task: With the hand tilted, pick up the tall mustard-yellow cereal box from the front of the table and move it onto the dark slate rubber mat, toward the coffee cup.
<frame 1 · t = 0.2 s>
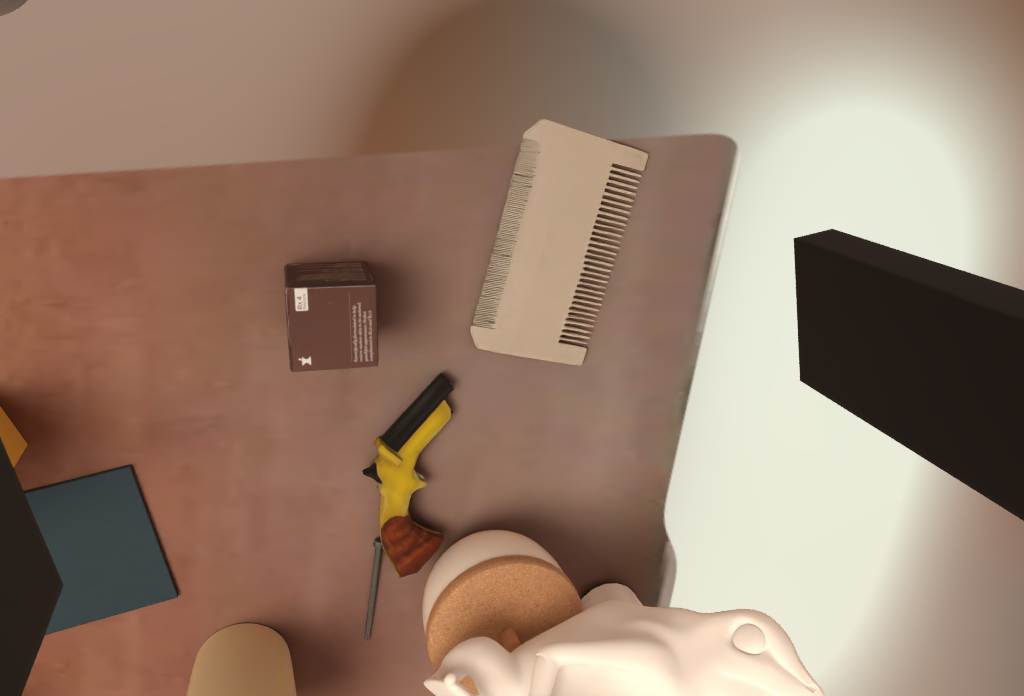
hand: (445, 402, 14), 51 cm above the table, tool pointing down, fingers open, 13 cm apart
coffee cup: (243, 659, 73), on the table
grooming comb: (619, 265, 69), point 1 cm above the table
slate mat: (60, 557, 66), on the table
screw: (374, 596, 73), point 1 cm above the table
toy gun: (466, 514, 72), point 1 cm above the table
lidded bowl: (480, 567, 76), on the table, touching hand
cup: (604, 608, 81), on the table, touching hand
box: (326, 299, 65), on the table
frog: (501, 620, 71), point 6 cm above the table, touching cup, lidded bowl
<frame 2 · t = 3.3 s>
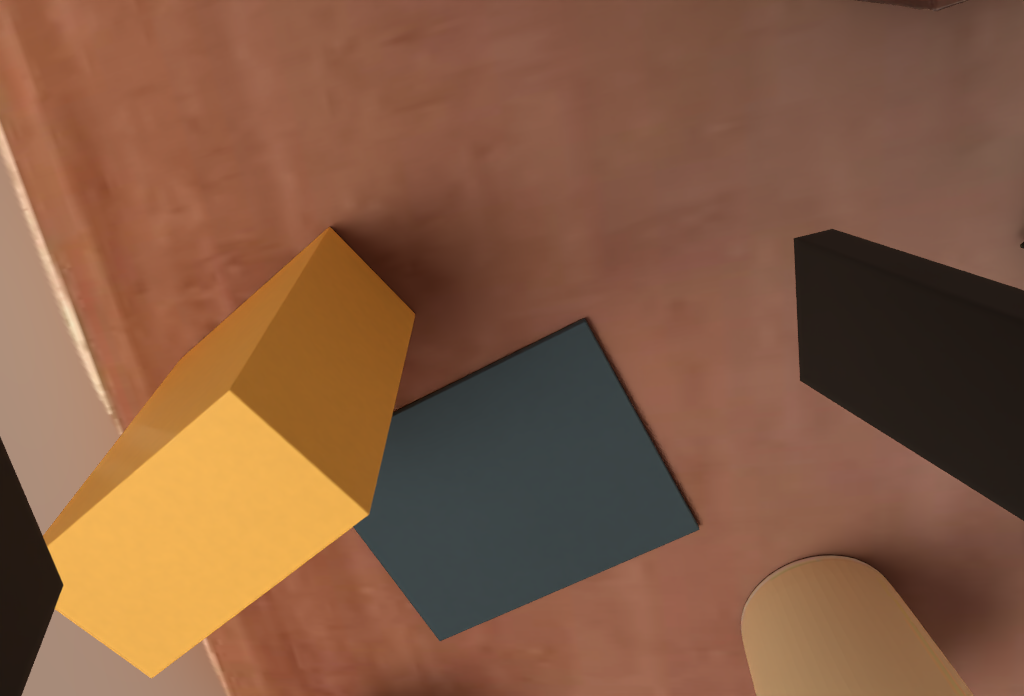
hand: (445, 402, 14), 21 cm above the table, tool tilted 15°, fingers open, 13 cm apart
coffee cup: (815, 613, 43), on the table
cereal box: (296, 337, 36), on the table
slate mat: (505, 491, 40), on the table
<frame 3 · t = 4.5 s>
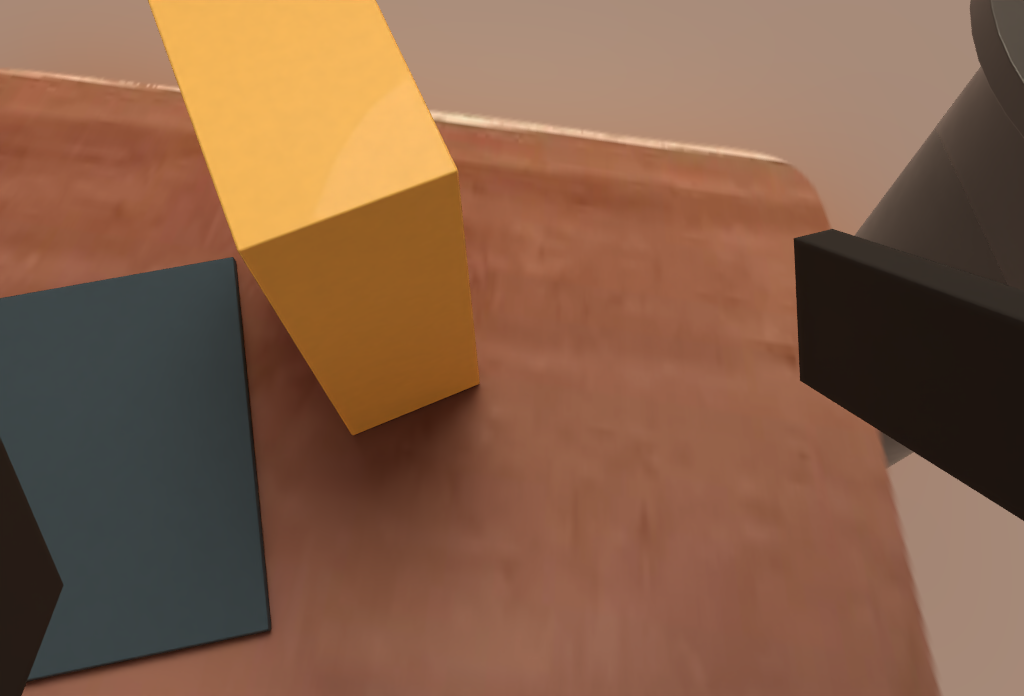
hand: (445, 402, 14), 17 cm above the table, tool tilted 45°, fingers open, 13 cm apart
cereal box: (374, 306, 33), on the table
slate mat: (83, 463, 31), on the table
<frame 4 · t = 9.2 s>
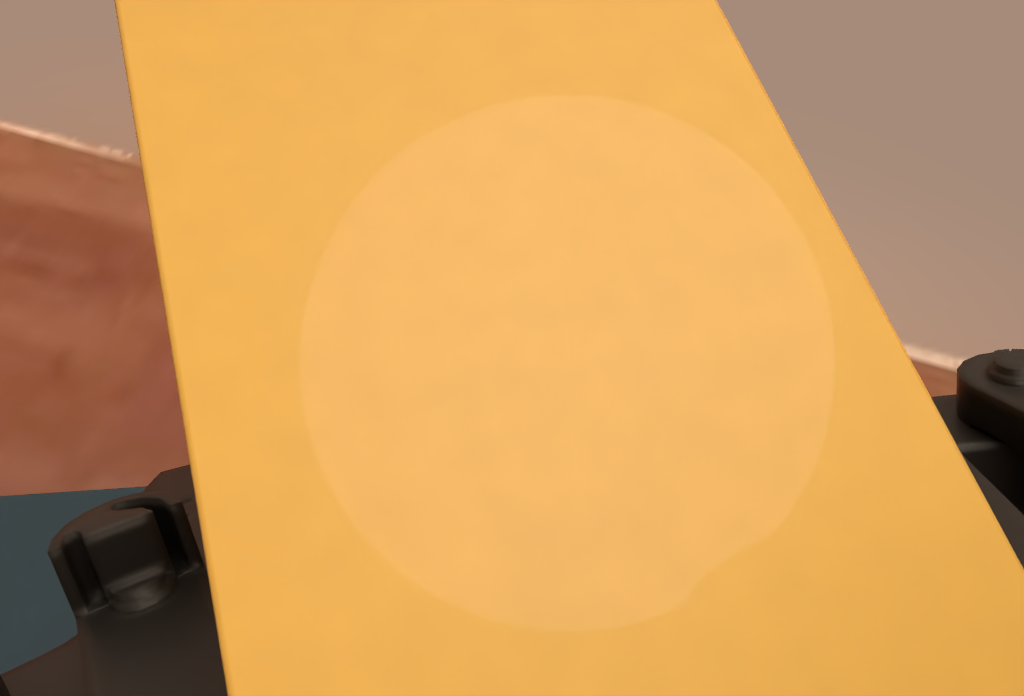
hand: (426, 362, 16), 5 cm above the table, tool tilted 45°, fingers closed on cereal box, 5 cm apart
cereal box: (475, 602, 19), on the table, touching gripper
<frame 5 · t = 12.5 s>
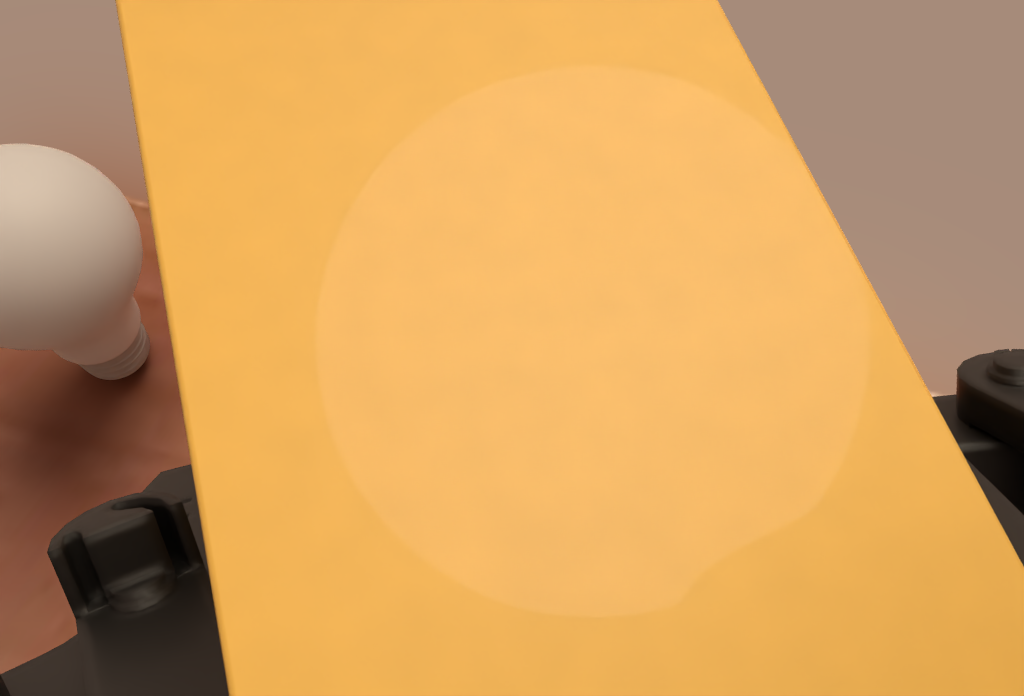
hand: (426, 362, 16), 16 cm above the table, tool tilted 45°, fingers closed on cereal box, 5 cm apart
cereal box: (475, 602, 19), point 12 cm above the table, touching gripper
lightbulb: (124, 360, 33), on the table
when the fingers open (5 cm above the table, at t = 16.2 s): cereal box stays where it is, resting on slate mat.
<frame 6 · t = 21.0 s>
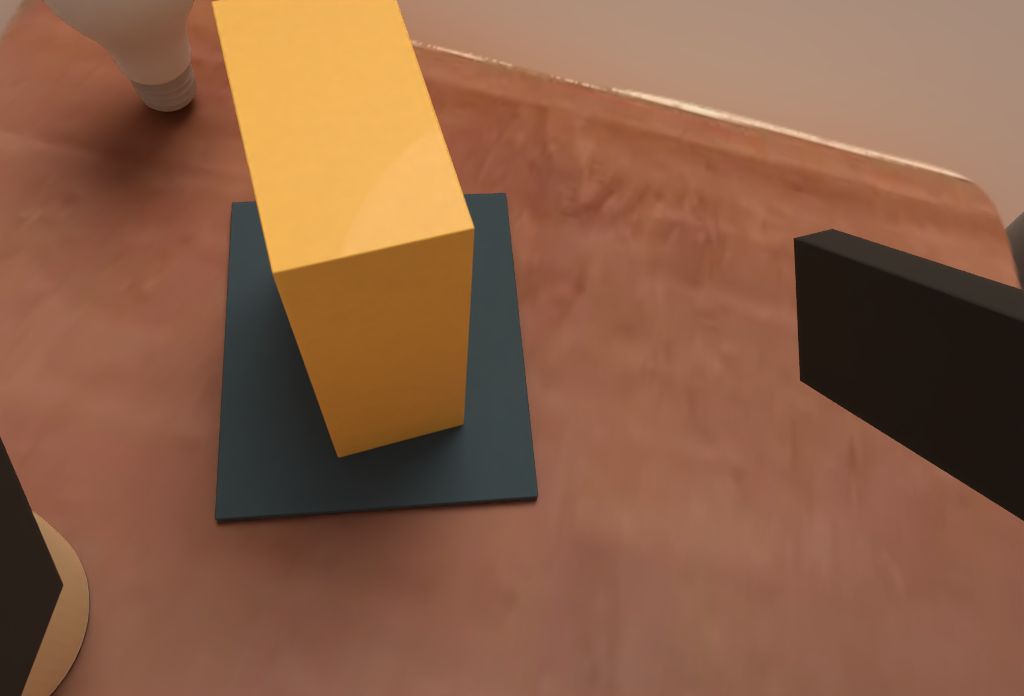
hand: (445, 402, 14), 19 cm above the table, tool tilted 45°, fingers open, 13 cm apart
cereal box: (374, 340, 35), resting on slate mat
slate mat: (375, 343, 36), on the table
lightbulb: (174, 104, 40), on the table
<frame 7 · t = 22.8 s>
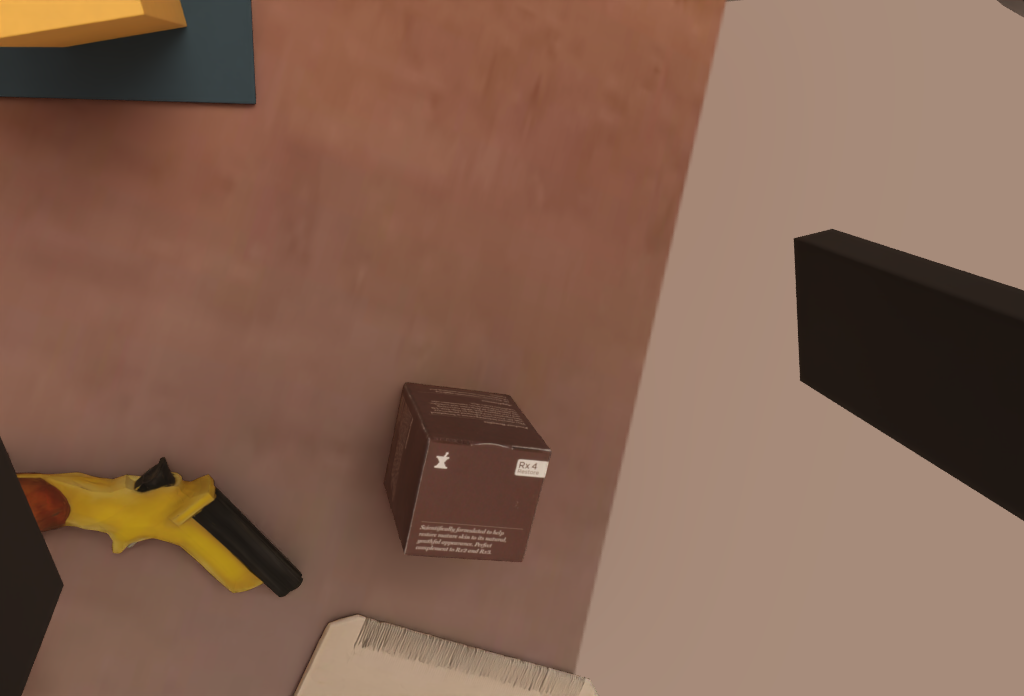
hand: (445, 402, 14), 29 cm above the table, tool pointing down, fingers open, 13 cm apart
toy gun: (36, 607, 42), point 1 cm above the table
box: (446, 436, 46), on the table
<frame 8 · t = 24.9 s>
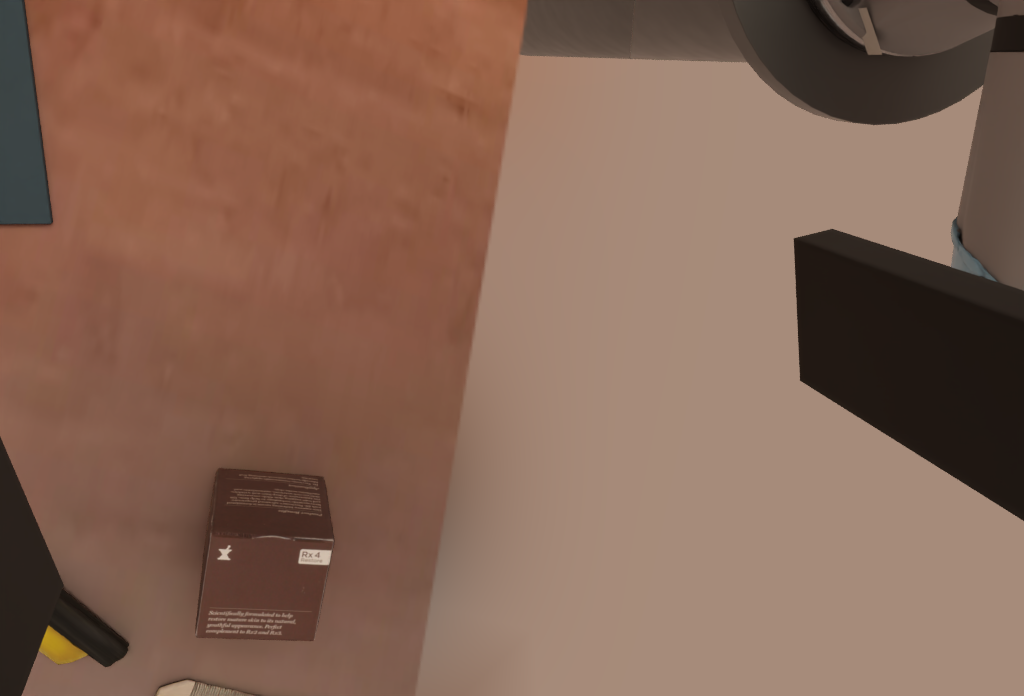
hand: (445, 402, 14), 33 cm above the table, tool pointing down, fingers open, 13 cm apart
box: (264, 515, 50), on the table
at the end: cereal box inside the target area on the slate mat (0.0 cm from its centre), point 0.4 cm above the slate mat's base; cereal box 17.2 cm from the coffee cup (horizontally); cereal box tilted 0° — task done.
